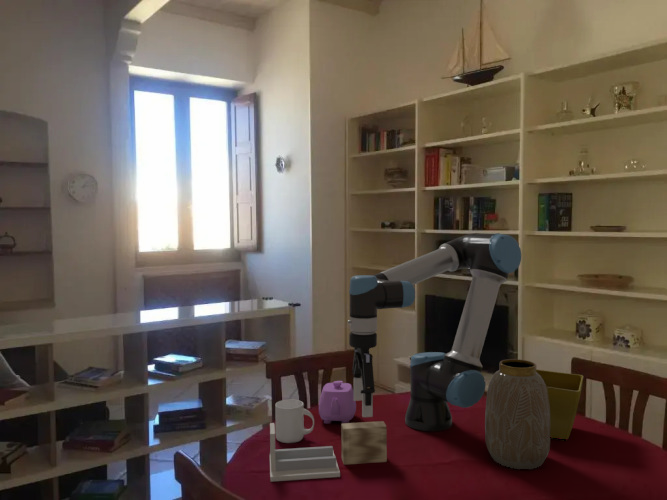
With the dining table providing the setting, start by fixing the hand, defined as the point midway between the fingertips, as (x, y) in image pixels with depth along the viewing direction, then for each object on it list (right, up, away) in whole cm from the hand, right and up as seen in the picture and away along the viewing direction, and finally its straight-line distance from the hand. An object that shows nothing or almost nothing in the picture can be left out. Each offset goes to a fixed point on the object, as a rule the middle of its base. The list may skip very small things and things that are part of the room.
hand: (362, 408), depth 152 cm
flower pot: (+59, -13, +21) cm, 64 cm away
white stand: (-16, -15, -3) cm, 22 cm away
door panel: (0, -15, +1) cm, 15 cm away
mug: (-20, -14, +16) cm, 29 cm away
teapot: (-7, -13, +32) cm, 36 cm away
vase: (+43, -15, +1) cm, 45 cm away
